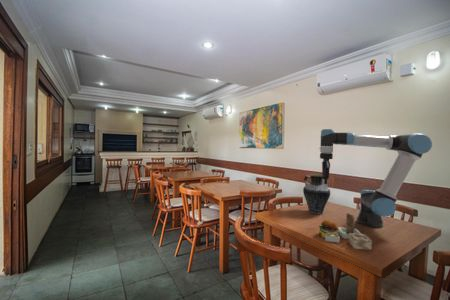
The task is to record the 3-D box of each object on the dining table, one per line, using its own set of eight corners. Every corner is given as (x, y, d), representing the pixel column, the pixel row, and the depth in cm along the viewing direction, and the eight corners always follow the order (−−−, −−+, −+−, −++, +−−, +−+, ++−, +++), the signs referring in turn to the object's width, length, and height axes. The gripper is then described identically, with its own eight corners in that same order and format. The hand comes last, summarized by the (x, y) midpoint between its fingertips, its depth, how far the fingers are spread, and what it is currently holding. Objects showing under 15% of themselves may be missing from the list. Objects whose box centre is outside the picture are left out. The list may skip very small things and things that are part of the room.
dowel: (352, 233, 130) (353, 213, 130) (354, 236, 126) (355, 215, 126) (344, 232, 131) (345, 213, 130) (347, 235, 127) (347, 215, 127)
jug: (333, 213, 170) (335, 175, 170) (323, 218, 157) (324, 177, 156) (308, 207, 186) (309, 172, 185) (296, 211, 172) (297, 173, 171)
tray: (356, 233, 132) (356, 229, 132) (363, 240, 122) (363, 236, 122) (337, 231, 135) (337, 227, 135) (342, 238, 125) (342, 233, 124)
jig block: (365, 243, 119) (365, 234, 118) (371, 250, 111) (371, 241, 111) (349, 241, 120) (349, 232, 120) (353, 248, 113) (354, 239, 112)
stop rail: (338, 241, 121) (338, 233, 121) (339, 242, 119) (339, 235, 119) (325, 239, 122) (325, 232, 122) (325, 240, 120) (326, 233, 120)
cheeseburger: (314, 235, 127) (316, 218, 128) (322, 235, 134) (324, 218, 135) (332, 241, 119) (334, 222, 121) (339, 240, 126) (342, 223, 128)
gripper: (318, 152, 150) (317, 186, 150) (322, 153, 137) (320, 190, 138) (330, 152, 148) (328, 187, 149) (335, 153, 135) (333, 191, 136)
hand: (324, 188), depth 143 cm, fingers closed
